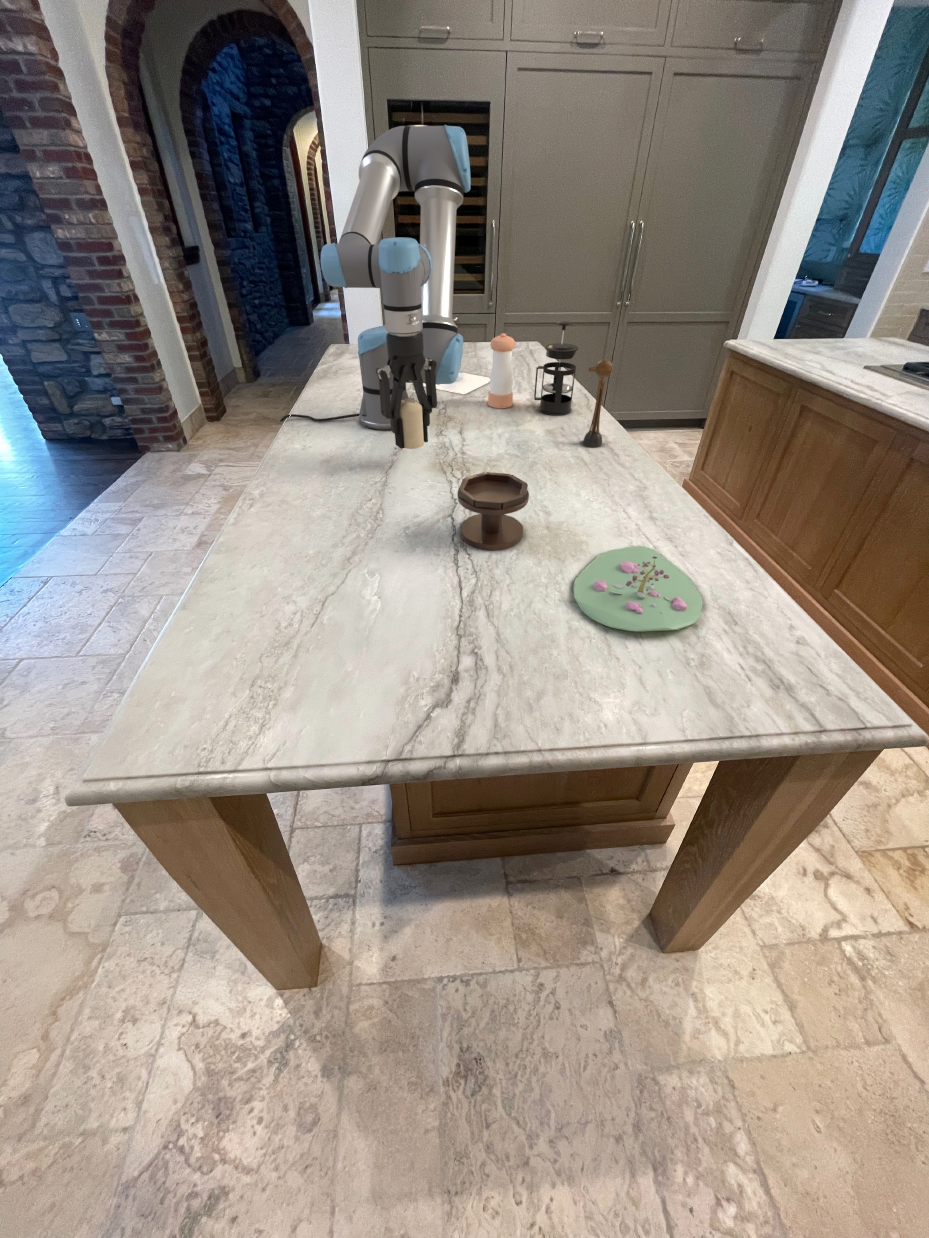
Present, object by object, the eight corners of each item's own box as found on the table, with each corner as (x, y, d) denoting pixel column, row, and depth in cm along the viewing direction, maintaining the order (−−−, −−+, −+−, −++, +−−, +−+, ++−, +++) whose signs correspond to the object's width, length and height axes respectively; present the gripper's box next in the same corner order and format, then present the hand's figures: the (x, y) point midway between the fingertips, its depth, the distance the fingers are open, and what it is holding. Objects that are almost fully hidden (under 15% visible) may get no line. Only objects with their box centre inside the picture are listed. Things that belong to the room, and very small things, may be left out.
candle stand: (451, 547, 99) (450, 499, 92) (464, 514, 108) (464, 468, 102) (521, 555, 97) (525, 506, 90) (528, 520, 107) (532, 474, 100)
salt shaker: (512, 400, 163) (516, 331, 151) (511, 408, 157) (516, 336, 145) (488, 400, 164) (491, 330, 151) (487, 407, 158) (489, 336, 146)
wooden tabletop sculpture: (581, 447, 135) (593, 362, 122) (576, 440, 139) (588, 357, 126) (604, 447, 135) (618, 362, 123) (599, 440, 139) (612, 356, 126)
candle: (420, 450, 121) (417, 405, 114) (397, 448, 122) (393, 403, 115) (426, 440, 125) (424, 396, 119) (403, 438, 126) (400, 395, 119)
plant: (565, 546, 99) (572, 501, 93) (679, 550, 98) (692, 506, 92) (578, 635, 80) (587, 586, 74) (719, 641, 79) (739, 593, 73)
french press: (571, 405, 160) (582, 318, 145) (575, 415, 153) (586, 325, 138) (532, 404, 161) (539, 318, 146) (533, 415, 153) (541, 325, 139)
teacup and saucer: (469, 378, 181) (469, 365, 178) (457, 384, 176) (456, 370, 173) (448, 374, 185) (448, 361, 182) (435, 380, 179) (434, 367, 177)
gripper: (371, 342, 102) (383, 458, 117) (452, 329, 110) (454, 439, 125) (354, 334, 107) (368, 447, 122) (433, 322, 114) (437, 429, 130)
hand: (411, 443), depth 123 cm, fingers closed on candle, 5 cm apart
